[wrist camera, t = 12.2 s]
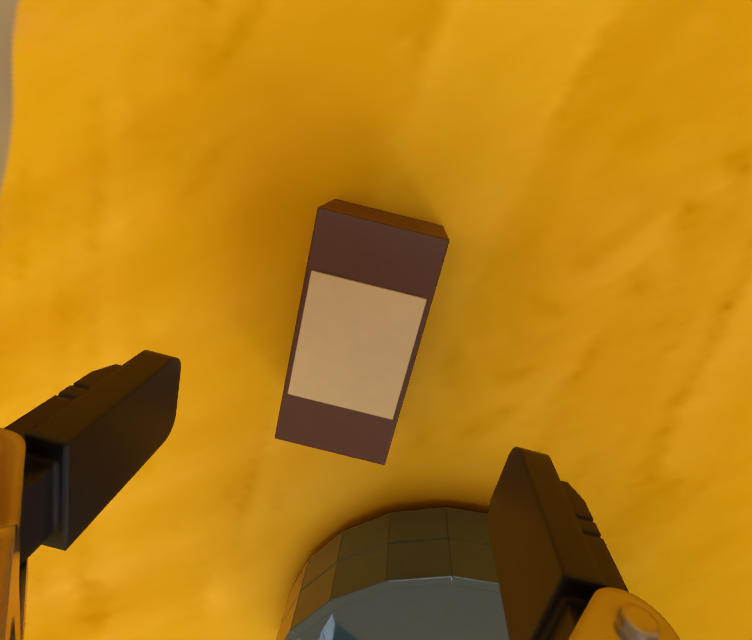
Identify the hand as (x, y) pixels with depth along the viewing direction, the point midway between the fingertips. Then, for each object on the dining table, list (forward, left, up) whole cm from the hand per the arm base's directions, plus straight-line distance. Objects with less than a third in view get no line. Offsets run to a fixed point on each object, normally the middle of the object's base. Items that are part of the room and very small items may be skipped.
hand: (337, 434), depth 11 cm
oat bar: (0, 0, -9) cm, 9 cm away
